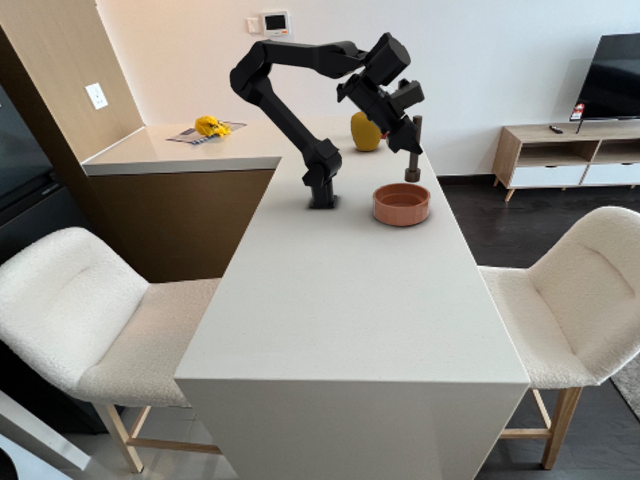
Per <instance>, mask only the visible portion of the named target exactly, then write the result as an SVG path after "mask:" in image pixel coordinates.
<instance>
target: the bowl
mask: <svg viewBox="0 0 640 480" xmlns="http://www.w3.org/2000/svg"><path fill="white" fill-rule="evenodd" d="M431 198H432V196H431V192H430V191H429V190H428V189H427V188H426V187H424V186H422V185H420V184H417V183H409V182H394V183H387V184H384V185H382V186H380V187H377V188H376V189H375V190H374V191H373V193H372V214H373V217H374V218H376V220H377V221H379V222H381V223H383V224H387V225H390V226H391V225H392V226H399V227H400V226H401V227H403V226H404V227H405V226H411V225H415V224H418V223H421V222H423V221H424V220H426V219H427V218H428V216H429V215H430V207H431Z"/></svg>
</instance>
